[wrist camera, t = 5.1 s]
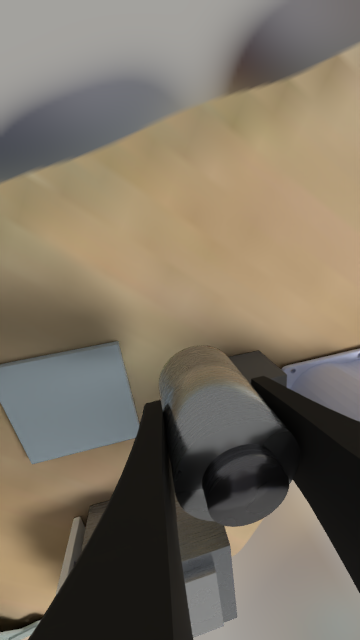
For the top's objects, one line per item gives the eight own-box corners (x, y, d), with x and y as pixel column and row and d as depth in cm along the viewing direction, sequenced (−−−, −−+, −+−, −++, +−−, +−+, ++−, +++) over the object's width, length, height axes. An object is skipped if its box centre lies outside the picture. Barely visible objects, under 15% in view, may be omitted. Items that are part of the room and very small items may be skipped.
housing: (206, 467, 23) (232, 550, 16) (216, 540, 27) (239, 627, 21) (87, 501, 21) (67, 606, 15) (118, 572, 25) (111, 677, 19)
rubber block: (258, 350, 19) (287, 374, 16) (258, 387, 21) (285, 418, 17) (215, 359, 19) (234, 387, 15) (218, 397, 20) (237, 431, 16)
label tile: (80, 516, 21) (64, 590, 17) (96, 551, 23) (86, 626, 19) (73, 518, 21) (55, 593, 17) (90, 553, 23) (78, 629, 19)
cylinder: (231, 338, 11) (319, 422, 6) (236, 402, 12) (310, 519, 7) (151, 355, 10) (166, 465, 5) (166, 420, 12) (188, 561, 6)
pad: (118, 341, 17) (117, 344, 16) (141, 431, 20) (141, 436, 19) (-11, 366, 15) (-16, 370, 15) (35, 457, 18) (32, 464, 18)
